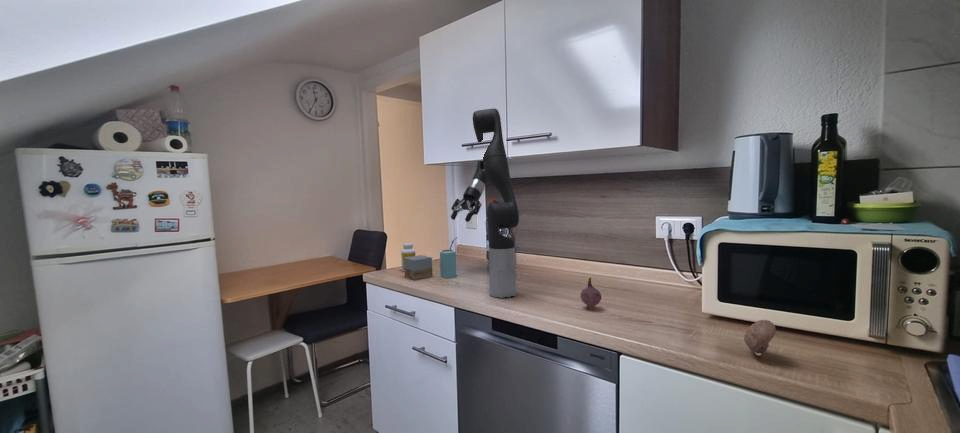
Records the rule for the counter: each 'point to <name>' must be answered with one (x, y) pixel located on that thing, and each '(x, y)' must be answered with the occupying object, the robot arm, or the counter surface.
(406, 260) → the top slab
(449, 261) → the teal block
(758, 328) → the mushroom
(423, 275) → the bottom slab
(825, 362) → the counter surface
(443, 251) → the mate gourd
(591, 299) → the vegetable
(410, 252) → the supplement bottle
